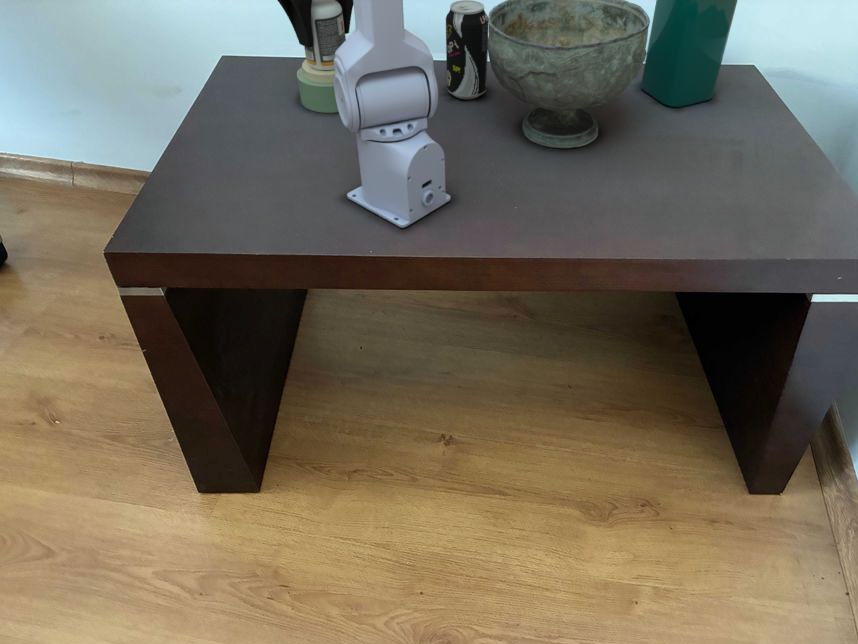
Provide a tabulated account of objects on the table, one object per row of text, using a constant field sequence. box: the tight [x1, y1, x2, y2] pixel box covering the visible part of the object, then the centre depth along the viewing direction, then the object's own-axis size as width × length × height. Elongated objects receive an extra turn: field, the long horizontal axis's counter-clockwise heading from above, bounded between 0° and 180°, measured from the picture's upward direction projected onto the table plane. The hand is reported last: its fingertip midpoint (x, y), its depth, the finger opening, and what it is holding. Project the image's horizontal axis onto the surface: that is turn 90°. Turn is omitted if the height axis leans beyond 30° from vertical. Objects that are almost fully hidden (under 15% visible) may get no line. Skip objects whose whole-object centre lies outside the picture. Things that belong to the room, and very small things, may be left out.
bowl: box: [487, 0, 651, 149], centre depth 90 cm, size 20×19×15 cm
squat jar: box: [296, 59, 339, 114], centre depth 99 cm, size 9×9×5 cm
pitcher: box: [640, 0, 739, 108], centre depth 94 cm, size 10×8×22 cm
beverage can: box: [445, 0, 489, 100], centre depth 98 cm, size 6×6×12 cm
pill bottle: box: [303, 0, 347, 70], centre depth 94 cm, size 6×6×10 cm
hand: (324, 38), depth 95 cm, fingers closed on pill bottle, 6 cm apart
